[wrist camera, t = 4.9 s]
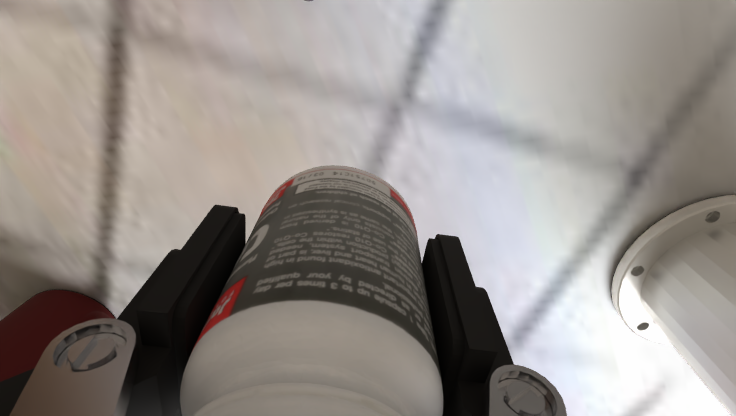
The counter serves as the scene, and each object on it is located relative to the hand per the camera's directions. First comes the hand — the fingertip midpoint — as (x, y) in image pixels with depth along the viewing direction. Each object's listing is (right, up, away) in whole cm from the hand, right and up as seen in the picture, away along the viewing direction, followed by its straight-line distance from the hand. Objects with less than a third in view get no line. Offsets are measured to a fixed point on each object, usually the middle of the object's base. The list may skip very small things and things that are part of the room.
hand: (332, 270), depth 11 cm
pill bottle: (0, +1, +2) cm, 2 cm away
